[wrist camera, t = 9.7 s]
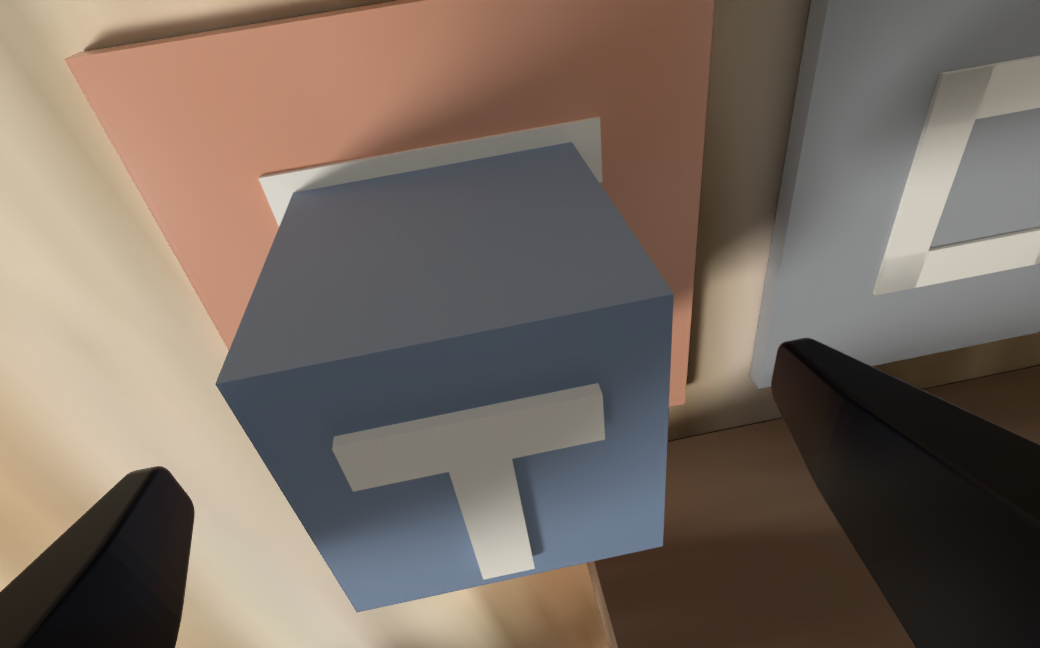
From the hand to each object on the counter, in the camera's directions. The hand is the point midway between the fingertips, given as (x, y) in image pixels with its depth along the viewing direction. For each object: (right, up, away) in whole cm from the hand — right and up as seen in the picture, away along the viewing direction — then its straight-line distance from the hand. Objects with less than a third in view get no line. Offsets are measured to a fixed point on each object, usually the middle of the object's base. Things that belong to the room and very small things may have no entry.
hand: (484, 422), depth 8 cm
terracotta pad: (-1, +3, +4) cm, 5 cm away
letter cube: (-1, +2, +3) cm, 4 cm away
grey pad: (+11, +5, +4) cm, 13 cm away
